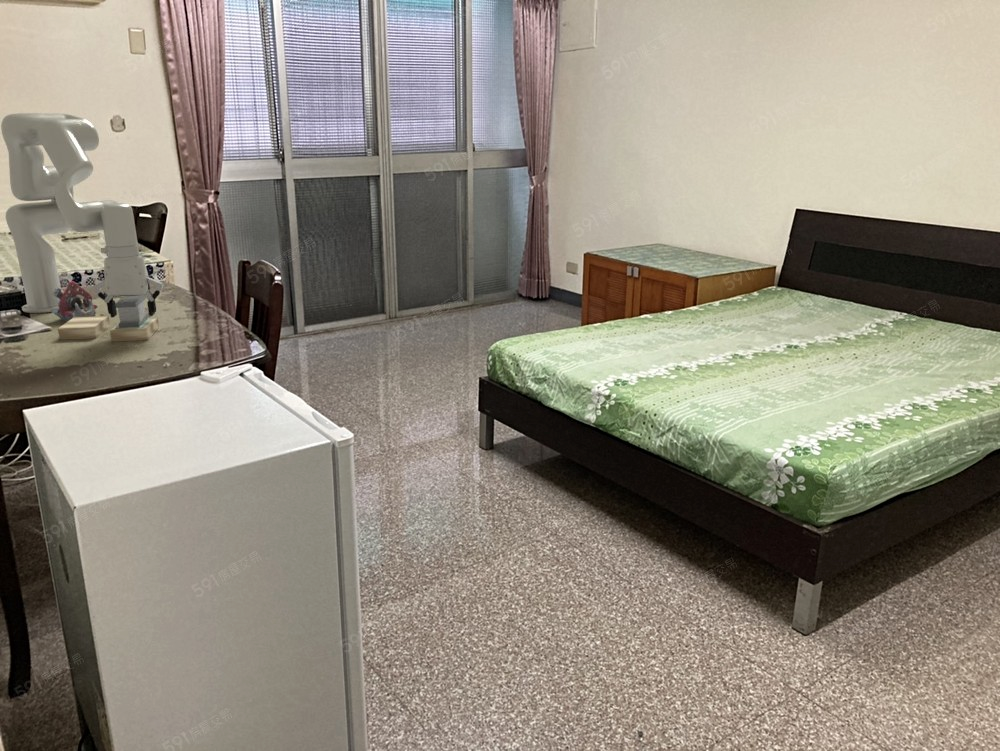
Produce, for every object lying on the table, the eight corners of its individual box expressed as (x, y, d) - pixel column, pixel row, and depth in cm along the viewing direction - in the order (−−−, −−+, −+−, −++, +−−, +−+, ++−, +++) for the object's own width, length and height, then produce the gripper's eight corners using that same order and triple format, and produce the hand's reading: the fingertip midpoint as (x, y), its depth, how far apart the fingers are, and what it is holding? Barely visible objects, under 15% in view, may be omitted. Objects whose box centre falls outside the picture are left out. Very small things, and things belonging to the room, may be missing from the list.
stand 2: (124, 329, 211) (123, 318, 210) (159, 328, 212) (157, 316, 211) (111, 341, 200) (109, 329, 199) (147, 339, 201) (146, 328, 200)
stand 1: (75, 327, 212) (73, 317, 211) (110, 326, 214) (108, 316, 213) (59, 339, 201) (57, 328, 200) (96, 338, 203) (94, 327, 202)
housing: (128, 319, 209) (125, 295, 207) (148, 318, 210) (144, 295, 207) (119, 327, 200) (115, 303, 198) (139, 327, 201) (135, 302, 199)
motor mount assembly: (78, 317, 214) (53, 281, 213) (59, 336, 219) (34, 302, 218) (110, 308, 224) (86, 274, 224) (91, 327, 229) (67, 294, 228)
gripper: (82, 255, 194) (94, 320, 199) (154, 253, 197) (163, 317, 202) (92, 250, 201) (103, 313, 206) (161, 248, 204) (170, 310, 209)
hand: (133, 315), depth 204 cm, fingers open, 9 cm apart
